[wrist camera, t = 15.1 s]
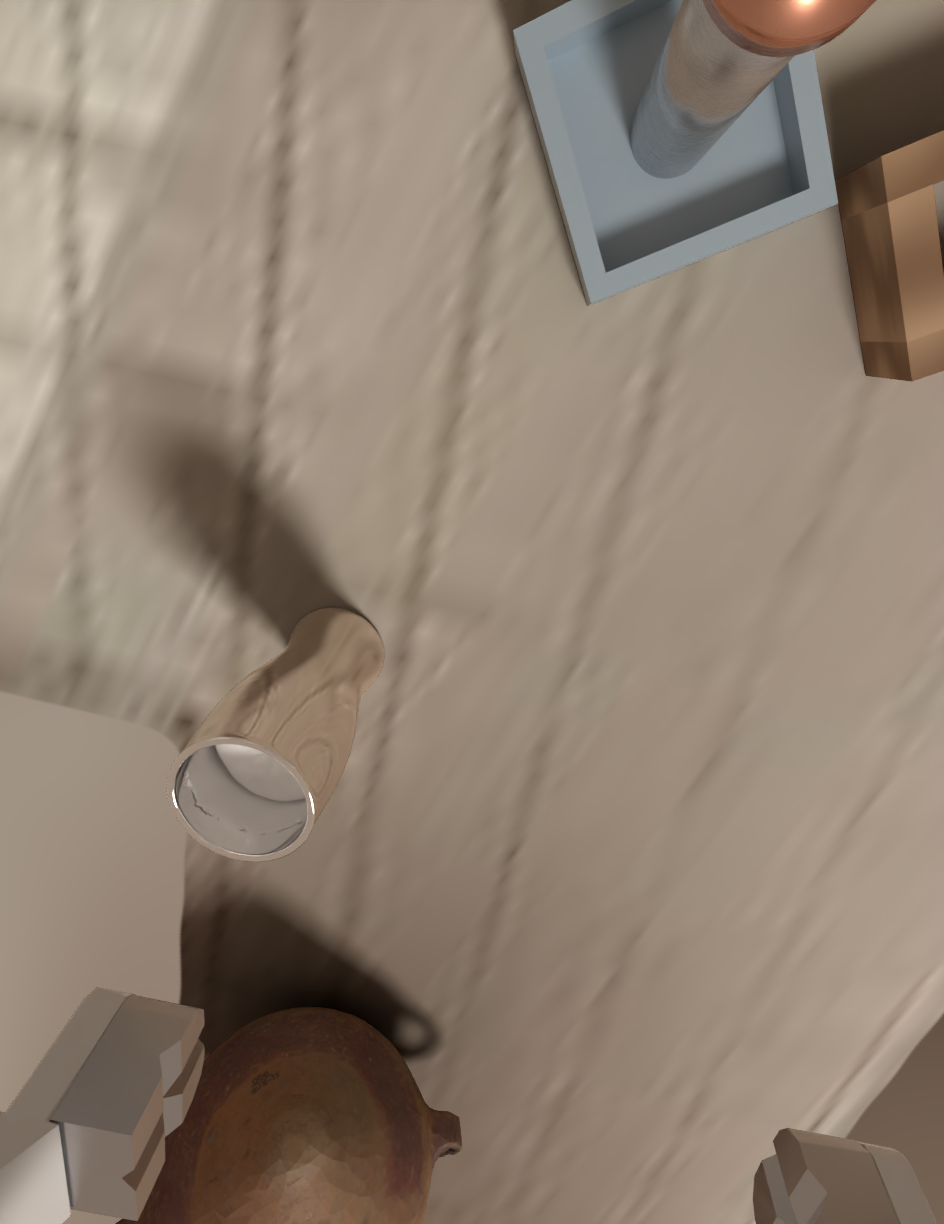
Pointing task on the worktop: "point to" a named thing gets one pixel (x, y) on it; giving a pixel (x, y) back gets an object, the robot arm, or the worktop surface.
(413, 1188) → the jug
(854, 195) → the socket block
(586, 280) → the tray
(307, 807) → the beer glass
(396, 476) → the worktop surface
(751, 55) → the pin
